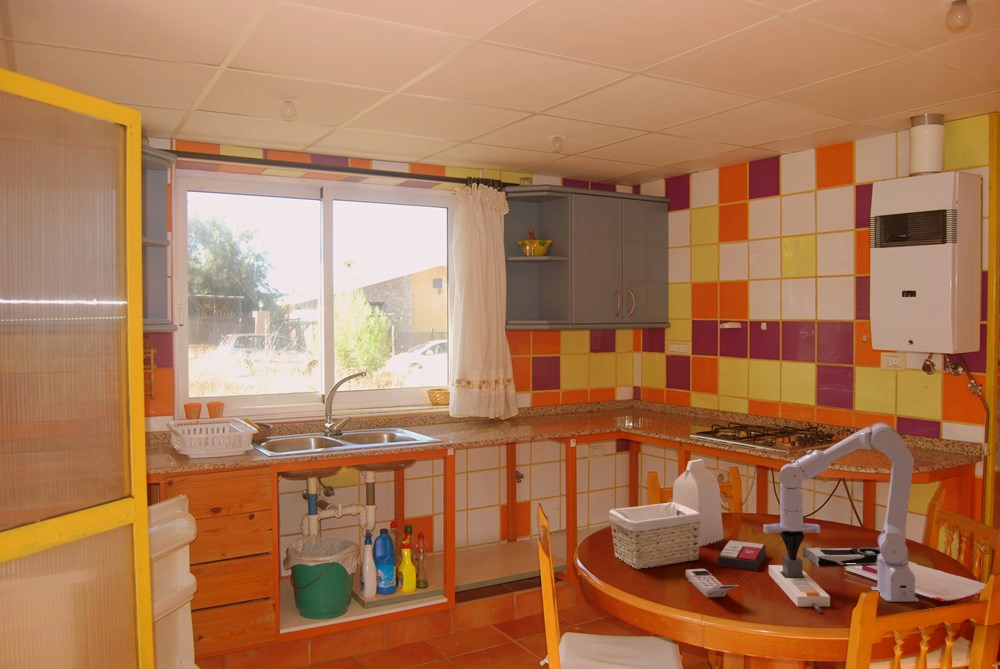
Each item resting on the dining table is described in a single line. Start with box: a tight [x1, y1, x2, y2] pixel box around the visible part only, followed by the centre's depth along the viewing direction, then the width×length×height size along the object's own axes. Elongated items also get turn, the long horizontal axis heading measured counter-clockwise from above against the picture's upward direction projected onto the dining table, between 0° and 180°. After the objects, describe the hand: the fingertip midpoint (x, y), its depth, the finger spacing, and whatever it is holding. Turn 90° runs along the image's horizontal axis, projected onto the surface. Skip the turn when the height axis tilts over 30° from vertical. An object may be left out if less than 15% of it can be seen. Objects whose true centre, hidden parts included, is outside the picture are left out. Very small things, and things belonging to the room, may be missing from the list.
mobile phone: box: [685, 568, 739, 598], centre depth 202 cm, size 6×6×25 cm
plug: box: [782, 555, 804, 578], centre depth 205 cm, size 5×4×7 cm
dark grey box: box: [717, 540, 767, 571], centre depth 225 cm, size 11×4×15 cm
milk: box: [672, 458, 724, 548], centre depth 248 cm, size 12×12×26 cm
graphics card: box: [802, 547, 881, 568], centre depth 223 cm, size 10×3×25 cm
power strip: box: [768, 564, 831, 614], centre depth 199 cm, size 28×8×3 cm, turn 177°
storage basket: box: [608, 501, 701, 570], centre depth 229 cm, size 24×16×15 cm
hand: (792, 558), depth 205 cm, fingers closed, pressing on plug
